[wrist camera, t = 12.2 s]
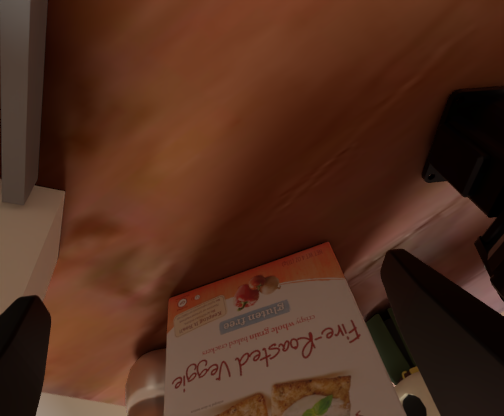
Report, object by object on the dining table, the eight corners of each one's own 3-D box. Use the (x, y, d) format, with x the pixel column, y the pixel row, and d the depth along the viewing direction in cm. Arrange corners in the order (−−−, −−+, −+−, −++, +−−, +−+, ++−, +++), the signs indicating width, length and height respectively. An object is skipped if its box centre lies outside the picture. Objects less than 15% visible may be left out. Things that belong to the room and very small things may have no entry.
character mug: (431, 278, 34) (537, 430, 24) (447, 311, 38) (543, 451, 28) (328, 327, 36) (385, 483, 26) (354, 353, 41) (412, 495, 31)
